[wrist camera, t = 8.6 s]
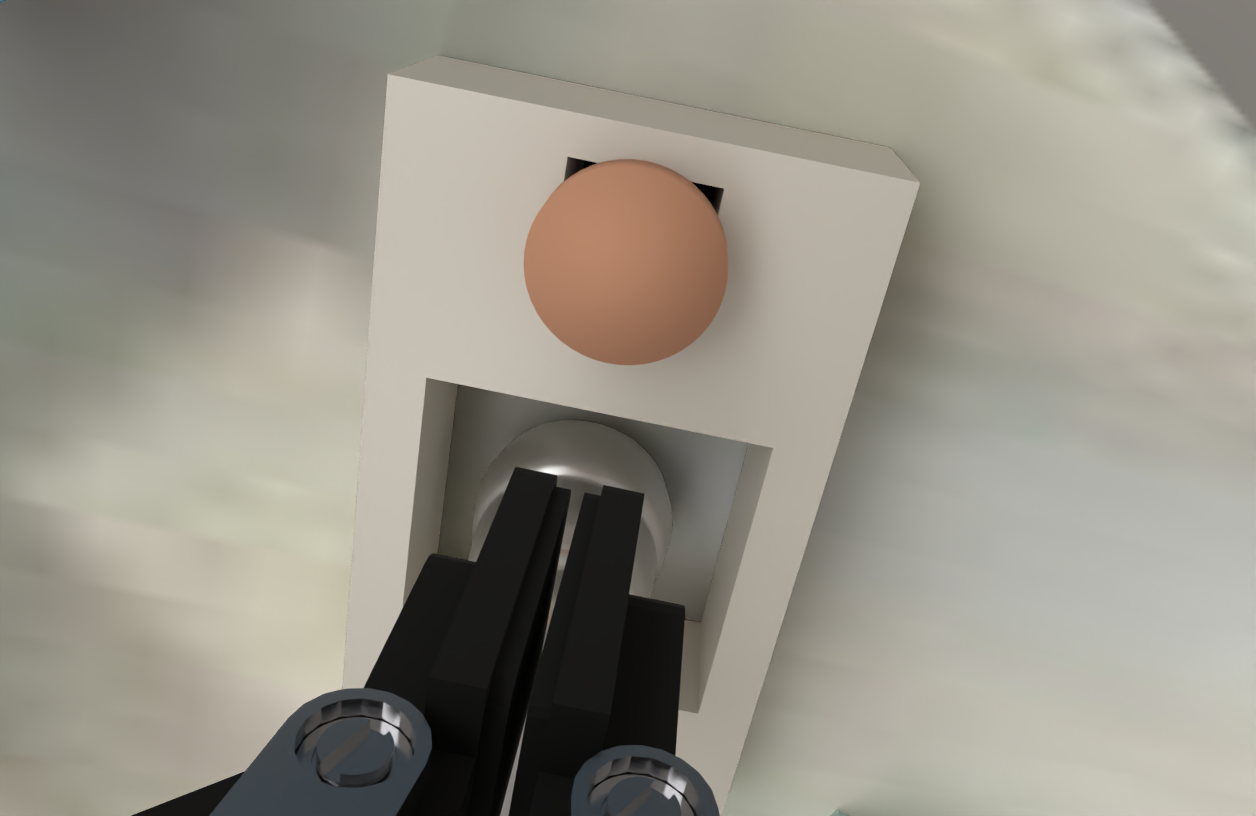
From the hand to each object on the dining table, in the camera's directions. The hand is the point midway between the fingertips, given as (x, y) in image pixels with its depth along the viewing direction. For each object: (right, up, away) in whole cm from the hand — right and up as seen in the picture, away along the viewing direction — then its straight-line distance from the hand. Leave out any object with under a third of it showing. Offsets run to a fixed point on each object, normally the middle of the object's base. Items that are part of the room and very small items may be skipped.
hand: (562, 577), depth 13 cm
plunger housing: (-1, 0, +23) cm, 23 cm away
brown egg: (+1, +8, +17) cm, 19 cm away
